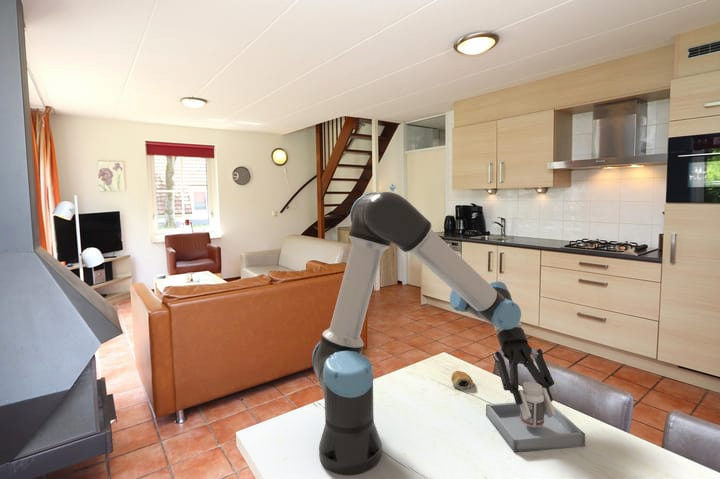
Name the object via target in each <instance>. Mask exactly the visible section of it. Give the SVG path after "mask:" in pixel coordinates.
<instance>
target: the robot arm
mask: <svg viewBox="0 0 720 479" xmlns="http://www.w3.org/2000/svg"><path fill="white" fill-rule="evenodd" d="M349 216H350V222H351V225H350V229H349V233H348V236H347V237H348V238H349V240H350V242H351V246H350V251H349V255H348V258H347V262H346V266H345V270H344V272H343V276H342V281H341V284H340V288H339V292H338V295H337V299H336V304H335V306H334V307H335V308H334V310H333V315H332V318H331V321H330V326H329V328H327V329H325V330H324V331H323V332H322V334H321V338H320V340H319V342H318V343H317V344H316V345H315V347H314V349H313V351H312V355H311V359H312V360H311V362H312V363H311V365H312V368H313V371H314V373H315V376H316V378H317V379H318V382H319V385H320V387H321V390H322V392H323V395H324V396H323V397H324V418H325V424H324V428H323V431H322V435H321V437H320V440H319V443H318V457H319V460H320V463H321V464H322V465H323V466H324V467H325V468H326V469H327V470H328V471H331V472H333V473H335V474H340V475H356V474H357V475H358V474H362V473H365V472H367V471H369V470H371V469H373V468H374V467H375V466H377V465H378V463H379V462H380V460H381V457H382V454H383V452H382V450H383V449H382V441H381V438H380V435H379V432H378V430H377V427H376V424H375V420H374V417H375V416H374V376H375V375H374V370H373V366H372V362H371V361H370V360H371V359H369V358H368V357H367V356H366V355H365V354H363V353H362V351H363V348H364V344H365V343H364V341H363V340H362V337H361V333H362V331H363V326H364V322H365V319H366V315H367V311H368V308H369V304H370V300H371V296H372V292H373V288H374V285H375V282H376V278H377V273H378V270H379V267H380V263H381V259H382V255H383V252H385V251H386V250H388V249H390V248H391V243H392V244H393V245H395V246H396V247H398V248H399V249H400V250H401V251H403V253H411V254H412V255H413V256H414V257H416V259H418V260H419V261H420V262H421V263H422V264H423V265H424V266H425V267H427V268H428V269H429V270H430V271H431V272H432V273H433V274H435V276H436V277H438V278H439V279H440V280H441V281H442V282H443V283H445V284H446V285H447V286H448V287H449V288H451V291H450V294H449V295H450V297H449V303H450V307H451V308H452V309H453V310H454V311H457V312H461V313H464V312H465V313H468V314H471V315H473V316H475V317H477V318H480V319H481V320H483V321H485V322H487V323H490V324H492V325H493V328H494V331H495V333H496V334H497V335H496V337H497V340H498V343H499V346H500V351H495V353H494V354H493V355H492V358H493V359H494V362H495V363H496V365H497V368H498V373H499V377H500V381H501V385H502V387H503V390H504V391H509V393H511V394H512V395H513V399H514V402H516V404H517V405H520V408H521V411H522V414H523V417H524V419H528V418H530V417H531V413H530V411H529V408H528V405H527V402H526V399H525V396H524V393H523V389H519V388H520V385H519V372H518V371H519V370H518V369H519V368H518V367H519V366H518V365H519V364H520V365H523V366H524V368H526V369H527V371H528V372H529V374H530V375H531V377H532V378H533V380H534V382H536V383H538V384H540V385H541V386H542V394H543V396H544V407H545V410H546V413H547V415H548V418H549V417H552V416H554V415H556V414H555V411H554V408H553V406H554V405H553V404H552V402H554V398H553V396H552V394H551V390H550V388H551V387H552V386H553V385H554V384H555V381H554V379H553V377H552V374H551V372H550V370H549V367H548V365H547V363H546V361H545V359H544V356H543V353H544V352H543V350H542V349H541V348H538V349H534V348H532V347H531V346H530V344H529V341H528V338H527V335H526V334H525V331H524V329H523V325H522V322H521V317H522V310H521V307H520V306H519V304H517V303H516V302H514V301H513V299H512V295H511V292H510V291H509V289H508V286H507V285H506V283H505V282H503V281H499V280H498V281H497V280H496V281H491V282H490V281H489V282H488V281H487V280H486V279H485V278H484V277H483V276H481V275H480V274H479V273H478V272H477V271H476V270H475V268H473V267H472V266H471V265H470V264H469V263H468V262H467V261H465V259H464V258H463V257H461V255H459V253H457V252H456V251H455V250H454V249H453V248H452V247H451V246H450V245H449V244H448V243H446V242H445V240H444V239H442V238H441V237H440V235H438V234H437V233H436V232H435V231H434V230H433V229H432V228H433V226H432V225H433V224H432V222H430V221H429V219H428V218H426V217H425V215H423V214H422V213H421V212H420V211H419V210H418V209H417V208H416V207H415V206H414V205H413V204H411V202H410V201H408V199H405V197H403V196H402V195H400V194H397V193H395V192H392V191H382V192H369V193H365V194H364V195H362V196H360V197H359V198H357V199H356V200H355V201H354V203H353V205H352V207H351V209H350V215H349ZM531 355H532V356H531ZM504 358H505V359H506V360H508V367H509V373H508V369H507V366H506V362H505V359H504ZM533 359H534V360H533ZM534 361H535V363H534ZM552 405H553V406H552Z"/></svg>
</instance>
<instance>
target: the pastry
mask: <svg viewBox="0 0 720 479" xmlns="http://www.w3.org/2000/svg"><path fill="white" fill-rule="evenodd" d="M450 380H451V382H452V386H453V388H454V389H456V390H457V389H458V390H463V389H466V390H467V389H471V388H472V387H473V386H474V382H473V379H472V377H471V376H470V375H469V374H467V373H466V372H464V371H460V370H457V371H454V372H453V373H452V375H451V378H450Z"/></svg>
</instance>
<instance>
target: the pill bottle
mask: <svg viewBox="0 0 720 479" xmlns="http://www.w3.org/2000/svg"><path fill="white" fill-rule="evenodd" d="M521 388H522V390H523V393H524V396H525V399H526V402H527V405H528V408H529V411H530V413H531V417H530V418H528V419H524V417H523V414H522V411H521V408H520V419H521V421H522V422H523V423H524V424H525V425H527V426H530V427H540V426H542V425H543V424H544V396H543V394H542V386H541V385H540V384H538V383H536V381H524V382H522V387H521Z"/></svg>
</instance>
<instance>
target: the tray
mask: <svg viewBox="0 0 720 479" xmlns="http://www.w3.org/2000/svg"><path fill="white" fill-rule="evenodd" d="M552 406H553V408H554V411H555V414H556V415H554V416H552V417H549V418H548V415H547V413H546V410H545V407H544V424H543V425H542V426H540V427H530V426H527V425H525V424H524V423H523V422H522V421H521V419H520V405H517V404H516V402H515V401H513V402H503V403H501V402H500V403H490V404H486V405H485V416H486V418H487V419H488V420H489V421H490V423H491V424H492V426H493V427H494V428H495V429H496V431H497V432H498V433H499V435H500V436H501V437H502V438H503V440H504V441H505V443H506V444H507V445H508V447H510V449H511V450H512V451H513V453H514V454H516V453H525V452H537V451H547V450H548V451H549V450H559V449H569V448H577V447H578V448H580V447H586V433H585V432H584V431H583V430H581V429H580V428H579V427H578V425H576V424H575V423H574V422H572V420H570V418H568V417H567V416H566V415H565V414H563V413H562V412H561V410H559V409H558V408H557V407H556V406H554V405H553V404H552Z"/></svg>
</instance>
